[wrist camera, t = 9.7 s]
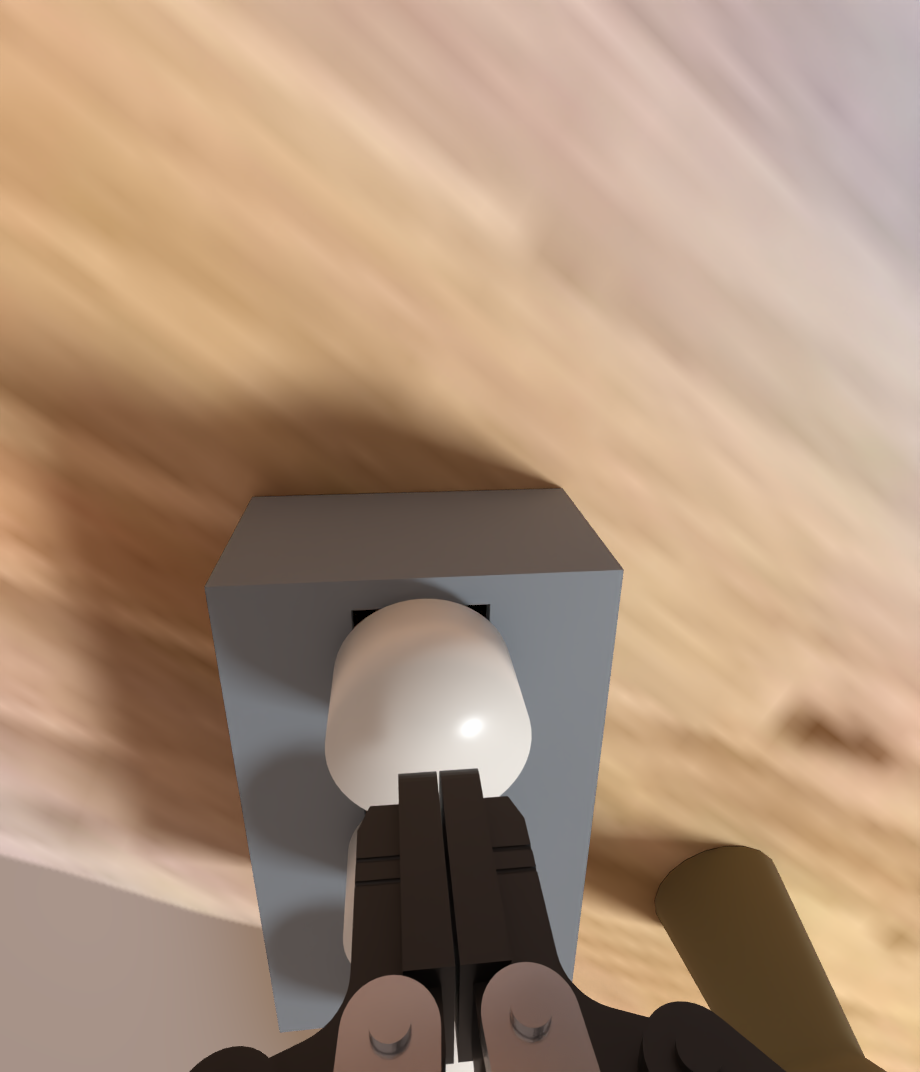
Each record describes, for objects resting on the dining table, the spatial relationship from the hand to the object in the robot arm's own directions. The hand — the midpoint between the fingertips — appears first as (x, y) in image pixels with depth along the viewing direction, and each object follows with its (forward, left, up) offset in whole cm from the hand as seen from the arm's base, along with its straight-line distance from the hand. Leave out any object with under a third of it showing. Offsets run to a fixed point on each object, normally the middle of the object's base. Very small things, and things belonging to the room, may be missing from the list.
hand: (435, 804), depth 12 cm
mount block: (+6, 0, -11) cm, 12 cm away
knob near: (0, 0, -10) cm, 10 cm away
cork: (+18, +14, -11) cm, 25 cm away
